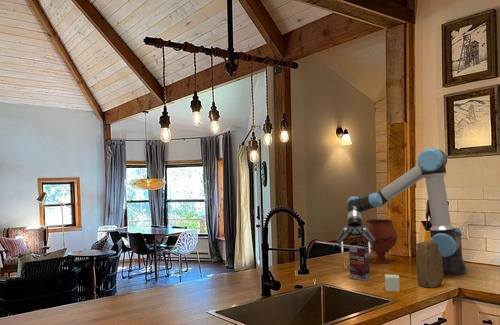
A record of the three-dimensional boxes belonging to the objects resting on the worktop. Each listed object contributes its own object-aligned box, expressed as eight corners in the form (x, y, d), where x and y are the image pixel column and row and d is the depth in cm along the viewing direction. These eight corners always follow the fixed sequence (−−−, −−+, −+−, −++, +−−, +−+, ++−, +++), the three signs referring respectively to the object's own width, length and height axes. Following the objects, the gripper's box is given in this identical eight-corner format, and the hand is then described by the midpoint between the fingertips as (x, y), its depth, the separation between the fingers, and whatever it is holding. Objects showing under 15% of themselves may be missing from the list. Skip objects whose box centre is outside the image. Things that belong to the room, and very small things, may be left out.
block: (426, 288, 185) (424, 244, 186) (415, 284, 192) (413, 241, 193) (446, 286, 188) (444, 242, 189) (434, 282, 196) (432, 240, 196)
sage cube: (399, 288, 188) (398, 274, 188) (399, 291, 182) (399, 277, 182) (385, 287, 190) (384, 274, 190) (385, 290, 184) (384, 277, 184)
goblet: (359, 259, 253) (357, 219, 254) (389, 258, 255) (387, 217, 256) (371, 266, 234) (369, 222, 235) (403, 264, 236) (402, 221, 237)
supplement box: (349, 278, 208) (348, 246, 208) (354, 276, 211) (353, 245, 212) (365, 281, 202) (364, 248, 203) (370, 279, 205) (368, 246, 206)
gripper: (378, 225, 226) (381, 258, 211) (331, 225, 232) (331, 257, 217) (378, 216, 221) (381, 249, 206) (331, 216, 227) (330, 248, 212)
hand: (356, 253), depth 212 cm, fingers open, 13 cm apart
